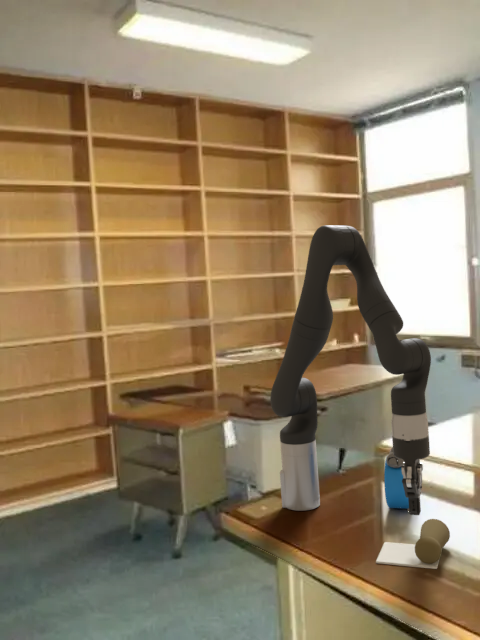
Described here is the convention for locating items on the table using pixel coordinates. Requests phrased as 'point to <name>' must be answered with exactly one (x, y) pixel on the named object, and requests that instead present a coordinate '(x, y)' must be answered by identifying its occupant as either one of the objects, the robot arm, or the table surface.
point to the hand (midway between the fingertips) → (415, 513)
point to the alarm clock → (394, 482)
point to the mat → (402, 556)
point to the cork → (431, 541)
